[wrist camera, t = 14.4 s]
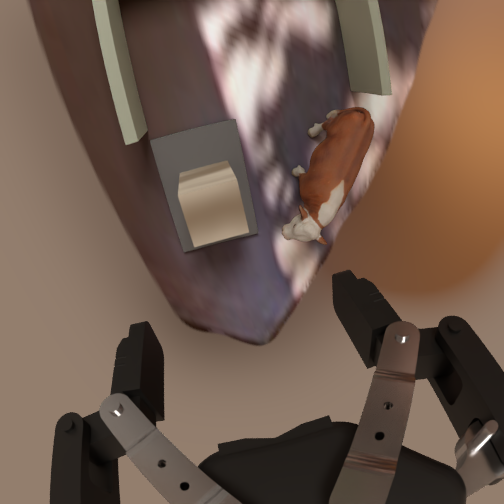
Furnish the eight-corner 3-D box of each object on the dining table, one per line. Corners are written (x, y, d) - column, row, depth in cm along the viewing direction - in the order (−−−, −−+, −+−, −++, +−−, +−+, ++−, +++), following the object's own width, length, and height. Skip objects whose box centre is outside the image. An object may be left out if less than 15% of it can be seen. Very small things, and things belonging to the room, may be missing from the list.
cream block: (179, 173, 29) (177, 195, 24) (227, 160, 29) (237, 179, 24) (192, 216, 31) (194, 247, 26) (237, 204, 32) (249, 232, 26)
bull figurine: (260, 209, 33) (281, 247, 26) (324, 95, 28) (365, 101, 21) (295, 224, 35) (323, 264, 28) (357, 117, 30) (403, 130, 23)
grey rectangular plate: (150, 140, 27) (149, 141, 27) (234, 118, 28) (235, 119, 28) (183, 249, 34) (183, 252, 33) (257, 231, 34) (258, 233, 34)
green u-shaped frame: (102, -32, 18) (84, -54, 12) (327, -63, 19) (354, -83, 14) (137, 133, 27) (125, 145, 22) (359, 90, 28) (391, 94, 23)
